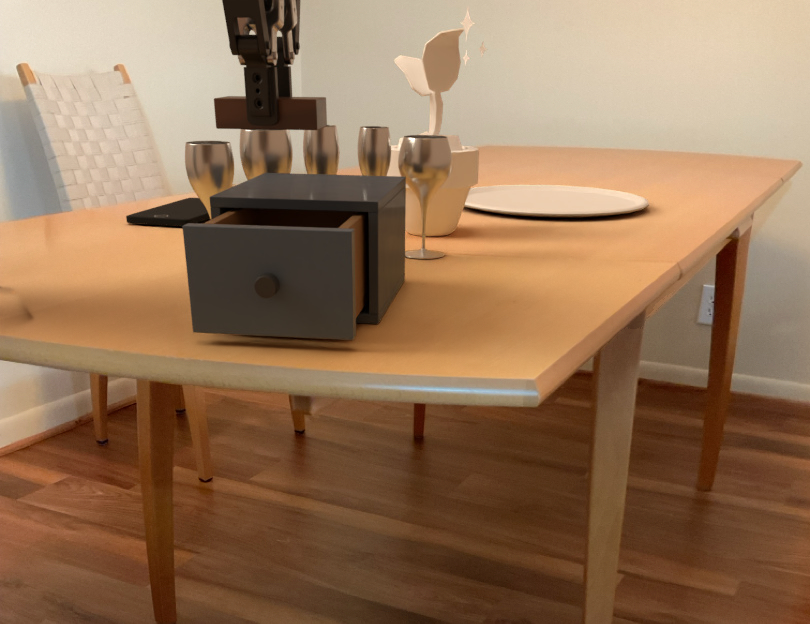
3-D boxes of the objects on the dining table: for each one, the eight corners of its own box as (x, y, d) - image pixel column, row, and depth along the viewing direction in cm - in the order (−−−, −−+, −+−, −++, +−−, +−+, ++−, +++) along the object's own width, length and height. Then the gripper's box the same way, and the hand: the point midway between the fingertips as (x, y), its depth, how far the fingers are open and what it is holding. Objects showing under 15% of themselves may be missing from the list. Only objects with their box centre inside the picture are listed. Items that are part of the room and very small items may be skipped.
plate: (688, 208, 135) (689, 199, 134) (562, 229, 117) (563, 219, 117) (536, 187, 154) (537, 179, 153) (409, 203, 136) (409, 194, 136)
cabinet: (378, 324, 76) (378, 201, 71) (219, 317, 77) (209, 196, 73) (404, 280, 90) (405, 176, 86) (270, 275, 92) (264, 172, 87)
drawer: (350, 344, 67) (348, 234, 63) (187, 337, 68) (176, 228, 65) (384, 292, 82) (384, 200, 78) (249, 287, 83) (243, 196, 79)
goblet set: (200, 275, 91) (186, 130, 85) (191, 264, 96) (177, 125, 90) (457, 258, 100) (462, 125, 94) (437, 248, 105) (440, 121, 99)
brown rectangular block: (317, 130, 66) (316, 99, 65) (215, 128, 66) (213, 98, 65) (327, 126, 69) (326, 97, 68) (230, 125, 70) (228, 96, 69)
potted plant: (494, 236, 112) (506, 0, 100) (410, 243, 107) (413, -4, 96) (442, 221, 122) (448, 4, 110) (363, 227, 117) (361, 1, 105)
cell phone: (125, 223, 117) (124, 215, 116) (190, 203, 132) (189, 197, 132) (188, 227, 115) (187, 219, 114) (247, 207, 130) (246, 200, 130)
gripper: (230, -146, 66) (248, 116, 74) (159, -192, 54) (190, 129, 62) (332, -148, 65) (339, 118, 73) (284, -195, 53) (299, 131, 61)
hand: (271, 121), depth 67 cm, fingers closed on brown rectangular block, 3 cm apart
